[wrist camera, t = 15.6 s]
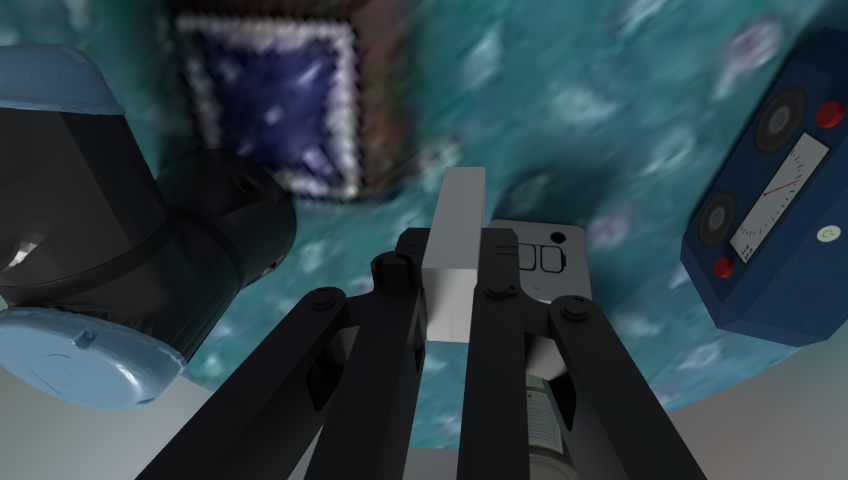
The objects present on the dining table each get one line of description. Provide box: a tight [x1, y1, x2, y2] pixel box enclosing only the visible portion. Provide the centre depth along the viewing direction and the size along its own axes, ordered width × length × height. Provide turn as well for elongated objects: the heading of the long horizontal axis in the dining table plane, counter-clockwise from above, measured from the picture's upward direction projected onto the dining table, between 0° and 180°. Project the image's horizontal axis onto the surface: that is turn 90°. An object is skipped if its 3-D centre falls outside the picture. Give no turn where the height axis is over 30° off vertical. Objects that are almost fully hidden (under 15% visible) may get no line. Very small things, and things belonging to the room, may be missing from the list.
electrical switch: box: [489, 219, 592, 304], centre depth 44 cm, size 9×5×9 cm, turn 90°
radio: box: [680, 27, 848, 347], centre depth 31 cm, size 21×9×20 cm, turn 170°
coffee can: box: [526, 373, 580, 480], centre depth 52 cm, size 10×10×14 cm
